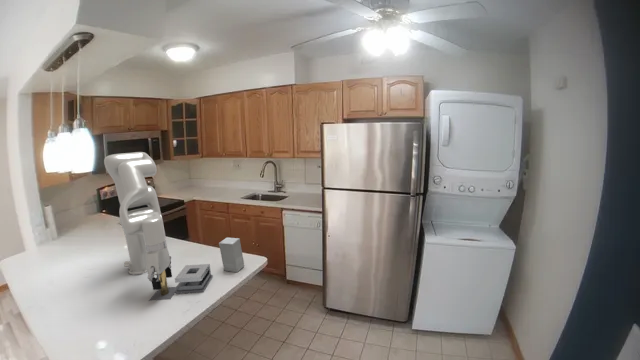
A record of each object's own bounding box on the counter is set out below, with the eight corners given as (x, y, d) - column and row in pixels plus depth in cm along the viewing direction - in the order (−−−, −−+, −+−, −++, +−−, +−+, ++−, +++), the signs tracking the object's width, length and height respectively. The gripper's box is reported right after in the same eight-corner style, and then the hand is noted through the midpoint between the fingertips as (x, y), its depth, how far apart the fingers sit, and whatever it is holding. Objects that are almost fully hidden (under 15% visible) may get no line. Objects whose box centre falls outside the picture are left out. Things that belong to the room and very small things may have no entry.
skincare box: (244, 266, 138) (241, 237, 135) (236, 273, 132) (232, 243, 128) (230, 264, 141) (227, 236, 138) (221, 271, 134) (218, 241, 131)
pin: (158, 296, 116) (154, 270, 113) (162, 291, 119) (158, 266, 117) (166, 295, 116) (162, 270, 113) (170, 290, 119) (166, 266, 117)
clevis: (175, 294, 117) (173, 279, 115) (187, 279, 129) (185, 264, 127) (203, 292, 117) (201, 277, 116) (212, 277, 129) (211, 263, 127)
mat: (148, 301, 113) (148, 300, 113) (159, 288, 122) (159, 287, 122) (170, 300, 113) (170, 299, 113) (180, 287, 122) (180, 286, 122)
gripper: (158, 237, 121) (164, 272, 125) (134, 256, 104) (142, 296, 108) (175, 236, 122) (181, 271, 125) (154, 255, 105) (161, 295, 108)
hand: (163, 282), depth 116 cm, fingers open, 8 cm apart
